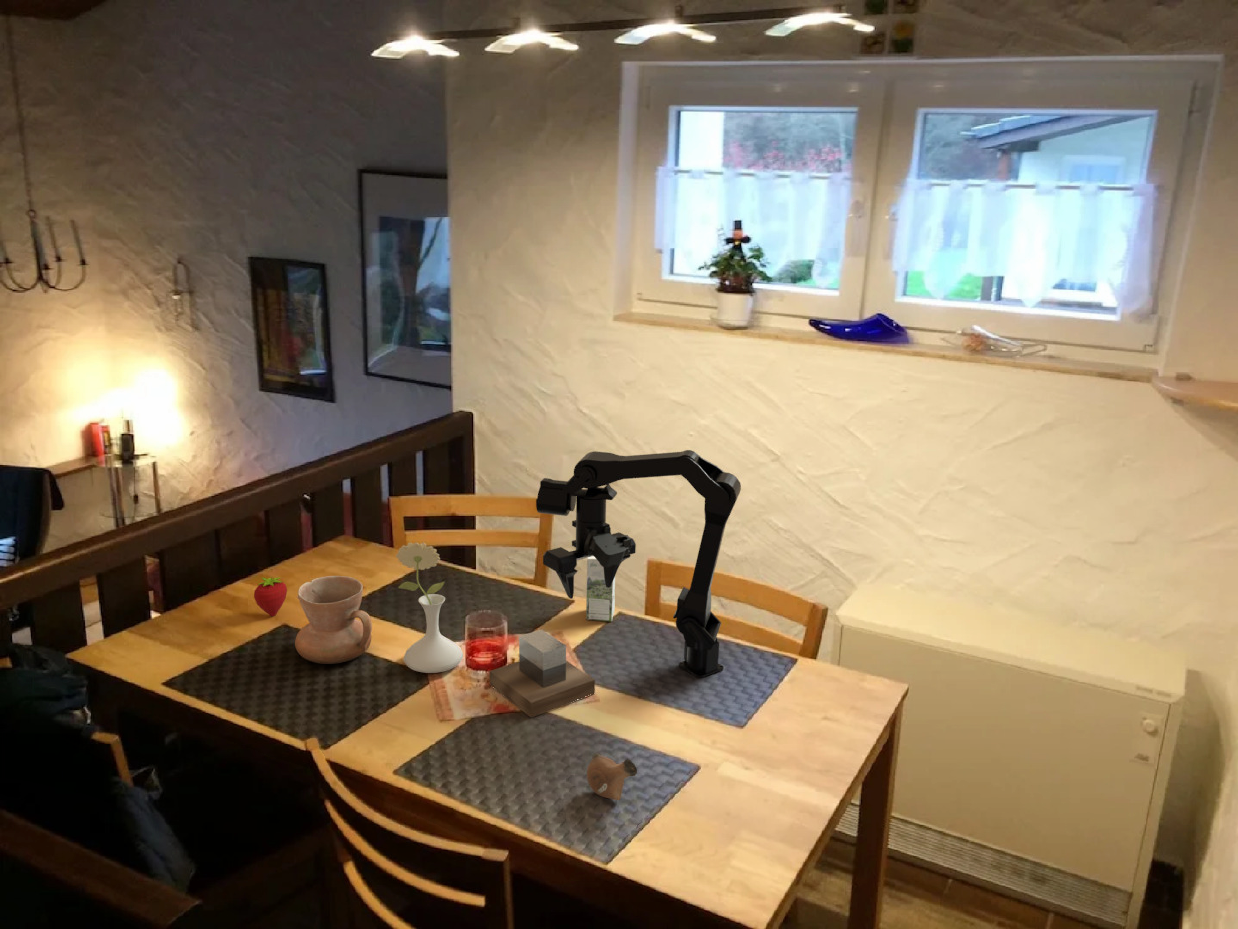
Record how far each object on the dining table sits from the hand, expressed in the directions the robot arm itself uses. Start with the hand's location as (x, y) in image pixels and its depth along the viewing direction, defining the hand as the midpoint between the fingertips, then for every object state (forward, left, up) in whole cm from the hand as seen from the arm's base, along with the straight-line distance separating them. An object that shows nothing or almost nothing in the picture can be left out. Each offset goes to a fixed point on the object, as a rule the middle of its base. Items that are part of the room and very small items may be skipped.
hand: (589, 592), depth 202 cm
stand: (-7, +16, -13) cm, 22 cm away
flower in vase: (+14, +28, -13) cm, 34 cm away
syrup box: (+12, -12, -13) cm, 21 cm away
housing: (-7, +16, -10) cm, 20 cm away
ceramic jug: (+28, +41, -13) cm, 51 cm away
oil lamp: (-41, +26, -13) cm, 50 cm away
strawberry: (+52, +45, -13) cm, 70 cm away
